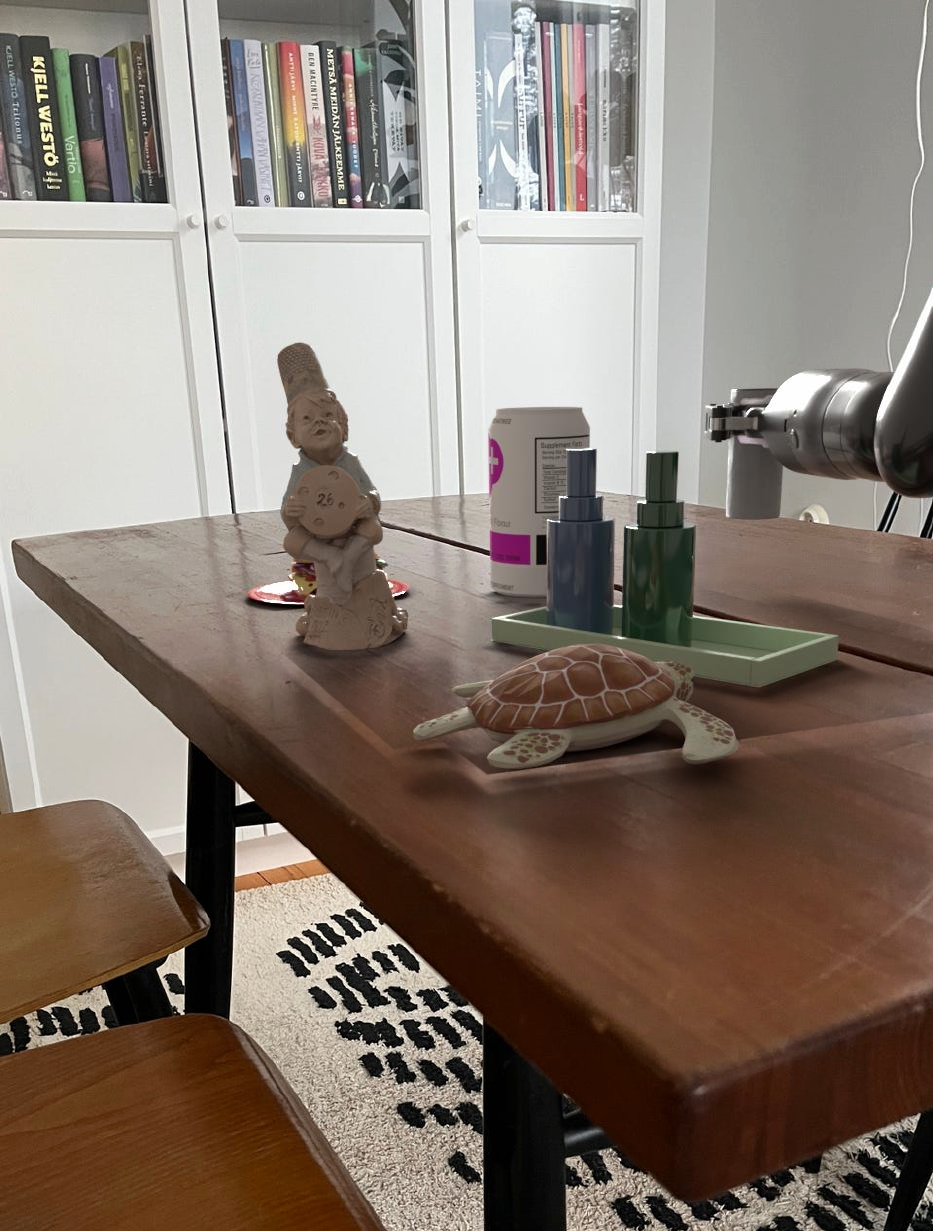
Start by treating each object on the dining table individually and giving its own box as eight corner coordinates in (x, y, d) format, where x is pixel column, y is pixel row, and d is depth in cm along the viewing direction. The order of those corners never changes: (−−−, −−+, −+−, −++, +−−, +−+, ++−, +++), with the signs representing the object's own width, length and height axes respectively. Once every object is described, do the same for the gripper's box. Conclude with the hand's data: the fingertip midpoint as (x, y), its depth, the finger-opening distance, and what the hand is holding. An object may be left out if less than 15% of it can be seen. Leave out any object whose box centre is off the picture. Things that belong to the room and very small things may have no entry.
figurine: (294, 633, 91) (273, 343, 84) (408, 629, 91) (396, 340, 84) (286, 660, 83) (262, 340, 75) (411, 655, 83) (399, 337, 76)
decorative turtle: (827, 748, 61) (835, 648, 59) (587, 826, 51) (589, 711, 50) (574, 684, 74) (575, 602, 73) (346, 737, 65) (340, 643, 63)
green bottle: (669, 639, 84) (676, 447, 79) (704, 652, 80) (714, 451, 75) (609, 645, 82) (612, 450, 78) (642, 659, 78) (647, 454, 74)
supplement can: (483, 603, 101) (480, 410, 96) (499, 586, 108) (497, 407, 103) (582, 604, 100) (584, 408, 94) (591, 587, 107) (593, 405, 102)
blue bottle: (594, 627, 88) (597, 445, 84) (624, 639, 84) (629, 448, 80) (536, 633, 86) (535, 448, 82) (563, 645, 82) (564, 451, 78)
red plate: (240, 587, 111) (234, 519, 109) (391, 577, 115) (388, 511, 113) (256, 613, 99) (250, 537, 97) (425, 602, 102) (423, 528, 100)
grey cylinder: (730, 513, 107) (736, 388, 104) (783, 514, 106) (791, 387, 102) (721, 519, 103) (726, 389, 100) (775, 520, 102) (783, 388, 98)
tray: (836, 666, 77) (839, 635, 76) (758, 694, 71) (760, 660, 70) (575, 626, 91) (576, 599, 90) (491, 646, 85) (491, 618, 84)
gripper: (934, 365, 88) (825, 367, 104) (747, 371, 86) (665, 372, 102) (924, 473, 91) (819, 459, 107) (742, 482, 89) (662, 466, 104)
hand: (744, 417), depth 104 cm, fingers closed on grey cylinder, 4 cm apart
